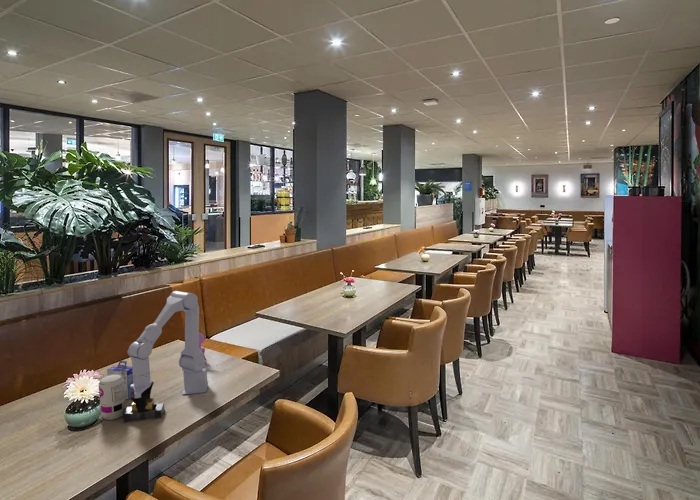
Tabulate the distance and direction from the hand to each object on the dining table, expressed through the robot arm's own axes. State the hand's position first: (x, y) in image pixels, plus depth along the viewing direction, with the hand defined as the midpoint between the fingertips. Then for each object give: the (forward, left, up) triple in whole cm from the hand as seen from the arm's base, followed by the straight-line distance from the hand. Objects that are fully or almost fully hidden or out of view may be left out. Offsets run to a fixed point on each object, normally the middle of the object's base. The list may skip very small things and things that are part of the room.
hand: (143, 406), depth 155 cm
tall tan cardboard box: (0, 0, -4) cm, 4 cm away
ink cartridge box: (+12, -19, -4) cm, 23 cm away
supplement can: (+12, -3, -4) cm, 13 cm away
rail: (0, 0, -4) cm, 4 cm away
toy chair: (-14, -46, -4) cm, 49 cm away
